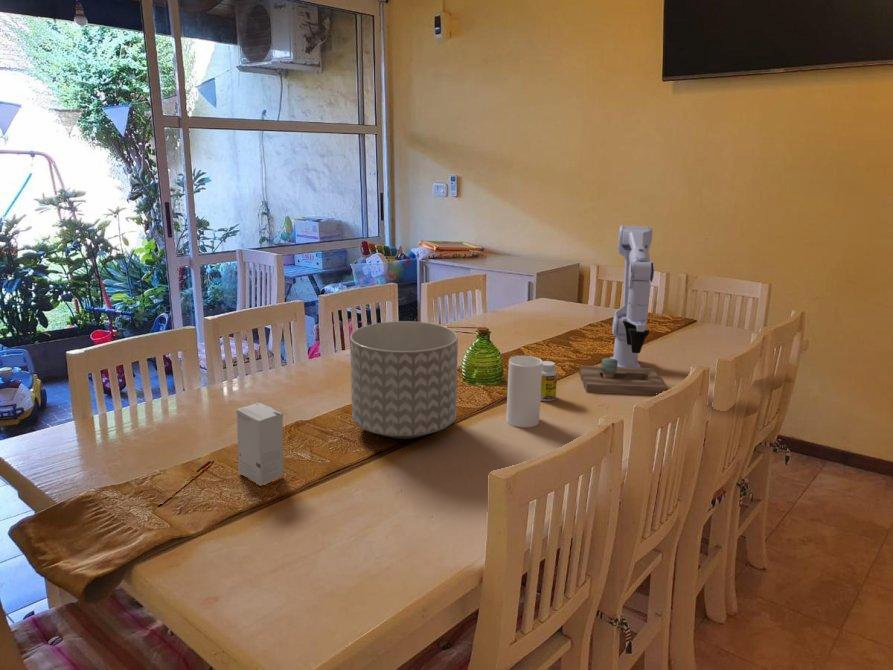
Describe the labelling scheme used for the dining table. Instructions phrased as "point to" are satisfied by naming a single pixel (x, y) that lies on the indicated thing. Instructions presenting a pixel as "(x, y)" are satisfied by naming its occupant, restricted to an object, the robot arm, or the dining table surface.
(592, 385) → the keyhole board
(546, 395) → the supplement bottle
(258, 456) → the skincare box
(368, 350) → the planter
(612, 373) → the peg
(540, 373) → the cup
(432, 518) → the dining table surface
